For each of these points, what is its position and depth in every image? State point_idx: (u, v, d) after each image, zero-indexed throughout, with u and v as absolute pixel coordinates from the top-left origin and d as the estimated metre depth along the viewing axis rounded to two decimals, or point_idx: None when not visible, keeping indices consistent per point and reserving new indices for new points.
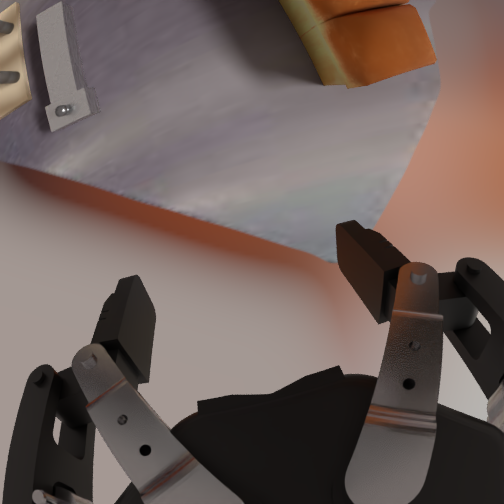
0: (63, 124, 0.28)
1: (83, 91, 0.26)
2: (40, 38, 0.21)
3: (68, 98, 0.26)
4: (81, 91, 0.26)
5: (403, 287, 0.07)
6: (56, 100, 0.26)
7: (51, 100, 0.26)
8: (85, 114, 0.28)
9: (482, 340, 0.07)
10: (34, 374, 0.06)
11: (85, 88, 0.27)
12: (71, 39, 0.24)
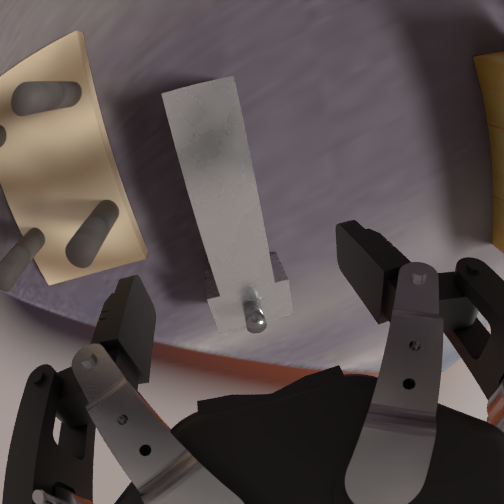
0: (243, 325, 0.23)
1: (286, 284, 0.21)
2: (185, 160, 0.16)
3: (257, 292, 0.21)
4: (283, 285, 0.21)
5: (403, 287, 0.07)
6: (232, 292, 0.21)
7: (222, 291, 0.21)
8: (284, 315, 0.23)
9: (482, 340, 0.07)
10: (34, 374, 0.06)
11: (286, 277, 0.22)
12: None
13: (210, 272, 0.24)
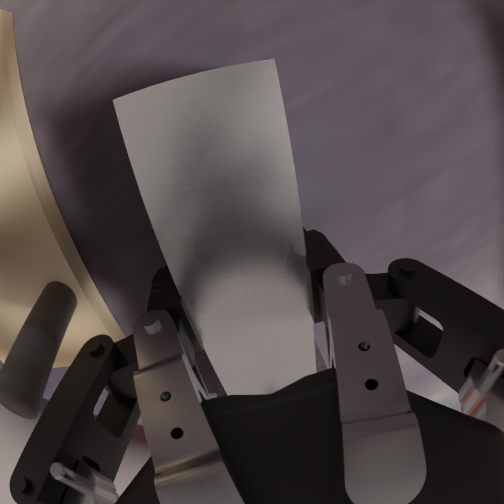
0: None
1: None
2: (171, 242, 0.08)
3: None
4: None
5: (323, 287, 0.08)
6: None
7: None
8: None
9: (431, 336, 0.07)
10: (91, 343, 0.07)
11: None
12: None
13: None
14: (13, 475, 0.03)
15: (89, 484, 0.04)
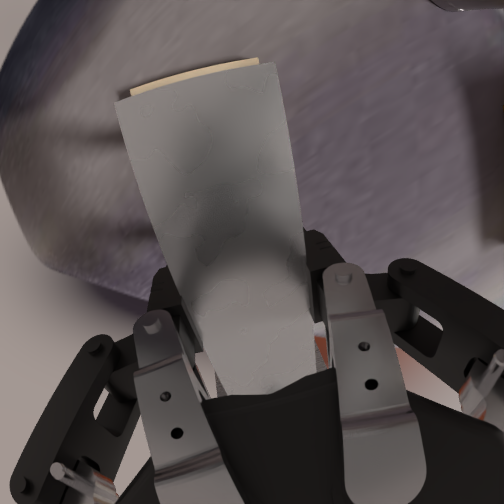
0: None
1: None
2: (172, 244, 0.08)
3: None
4: None
5: (323, 287, 0.08)
6: None
7: None
8: None
9: (431, 336, 0.07)
10: (91, 343, 0.07)
11: None
12: None
13: None
14: (13, 475, 0.03)
15: (89, 484, 0.04)
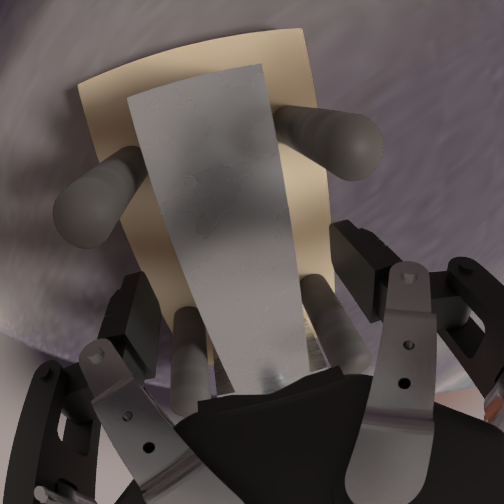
0: None
1: None
2: (174, 218, 0.09)
3: (285, 384, 0.15)
4: None
5: (393, 286, 0.07)
6: (252, 387, 0.14)
7: (237, 387, 0.14)
8: None
9: (476, 339, 0.07)
10: (40, 370, 0.06)
11: (324, 362, 0.15)
12: None
13: None
14: None
15: (73, 503, 0.04)
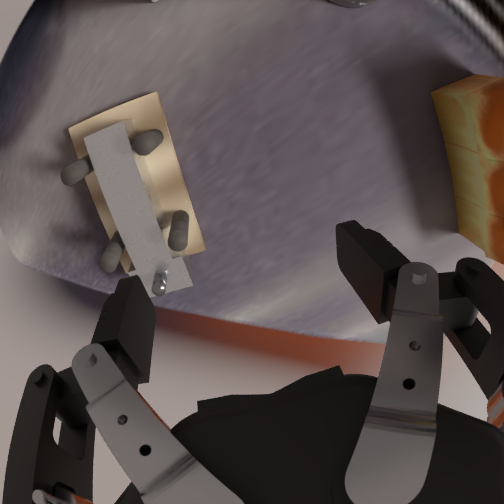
0: None
1: (181, 260, 0.29)
2: (100, 178, 0.23)
3: (161, 266, 0.28)
4: (178, 260, 0.28)
5: (403, 287, 0.07)
6: (143, 267, 0.28)
7: (136, 265, 0.28)
8: (186, 285, 0.30)
9: (482, 340, 0.07)
10: (34, 374, 0.06)
11: (182, 255, 0.29)
12: (146, 180, 0.26)
13: None
14: None
15: None
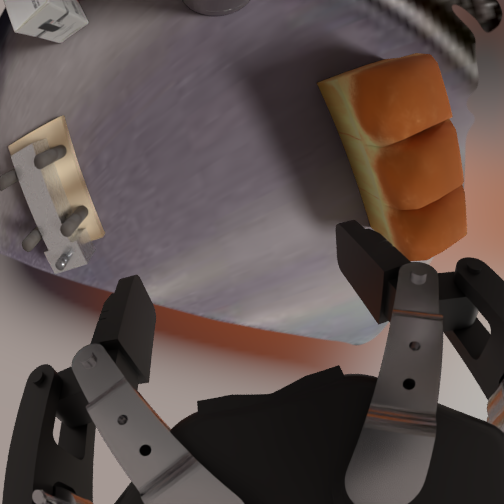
0: (64, 269, 0.34)
1: (76, 244, 0.33)
2: (22, 184, 0.28)
3: (64, 248, 0.33)
4: (74, 244, 0.33)
5: (403, 287, 0.07)
6: (53, 248, 0.33)
7: (48, 247, 0.32)
8: (82, 264, 0.35)
9: (482, 340, 0.07)
10: (34, 374, 0.06)
11: (77, 240, 0.33)
12: (52, 184, 0.30)
13: None
14: None
15: None
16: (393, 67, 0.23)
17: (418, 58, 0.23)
